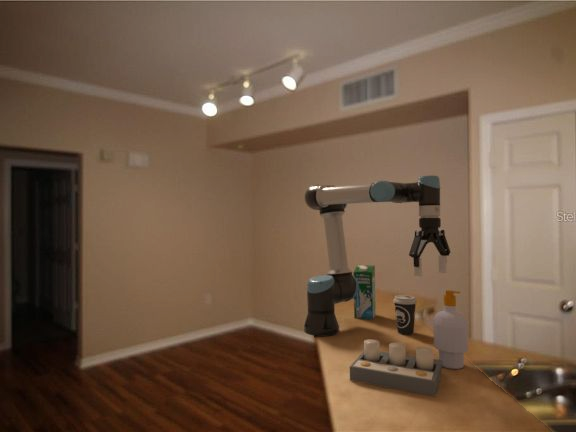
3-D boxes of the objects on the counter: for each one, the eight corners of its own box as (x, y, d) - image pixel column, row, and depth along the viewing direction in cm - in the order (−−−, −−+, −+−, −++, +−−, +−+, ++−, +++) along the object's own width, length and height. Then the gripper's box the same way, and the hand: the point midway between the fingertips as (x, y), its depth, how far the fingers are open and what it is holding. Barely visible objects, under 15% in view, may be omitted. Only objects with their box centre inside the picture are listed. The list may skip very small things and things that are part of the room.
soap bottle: (466, 374, 114) (464, 295, 114) (431, 367, 119) (429, 292, 120) (470, 363, 123) (468, 289, 123) (437, 357, 128) (435, 287, 128)
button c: (415, 370, 110) (414, 350, 110) (417, 365, 114) (417, 345, 114) (432, 373, 107) (432, 353, 107) (434, 367, 112) (434, 347, 112)
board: (349, 379, 111) (349, 364, 111) (366, 360, 126) (365, 347, 126) (435, 396, 100) (435, 379, 100) (442, 373, 115) (441, 358, 115)
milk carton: (354, 317, 182) (353, 266, 182) (357, 313, 190) (357, 264, 191) (372, 319, 179) (371, 267, 179) (375, 314, 187) (374, 265, 187)
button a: (362, 362, 117) (362, 343, 117) (366, 357, 121) (366, 338, 121) (377, 364, 115) (377, 345, 115) (381, 359, 119) (380, 340, 119)
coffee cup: (419, 336, 151) (418, 299, 151) (394, 335, 153) (394, 299, 153) (415, 329, 161) (415, 295, 161) (392, 328, 163) (392, 294, 163)
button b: (387, 366, 113) (387, 346, 113) (391, 361, 118) (391, 342, 118) (404, 369, 111) (403, 349, 111) (407, 363, 115) (406, 344, 115)
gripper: (414, 217, 129) (415, 278, 128) (459, 216, 141) (460, 272, 141) (398, 217, 135) (399, 275, 135) (442, 217, 148) (443, 270, 148)
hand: (430, 274), depth 138 cm, fingers open, 13 cm apart
